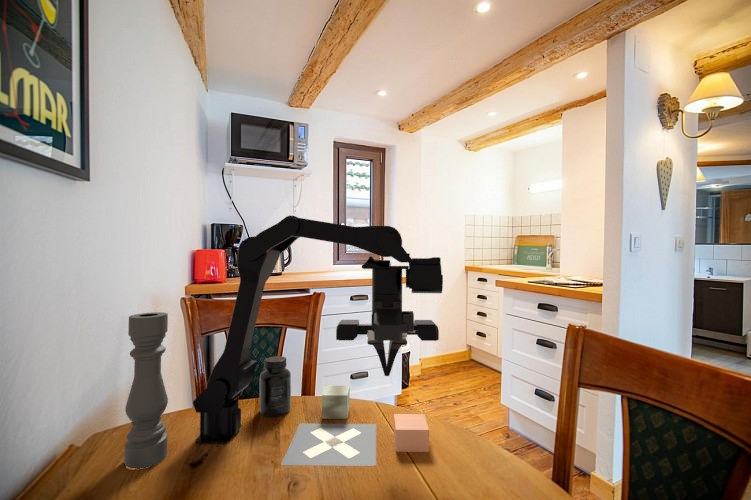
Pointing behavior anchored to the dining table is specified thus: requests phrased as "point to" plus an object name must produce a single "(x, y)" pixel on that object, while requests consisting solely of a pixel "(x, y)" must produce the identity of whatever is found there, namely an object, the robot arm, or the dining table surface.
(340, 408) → the sage cube
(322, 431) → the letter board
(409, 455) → the dining table surface
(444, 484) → the dining table surface
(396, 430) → the terracotta block
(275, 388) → the supplement bottle
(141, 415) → the candle holder
